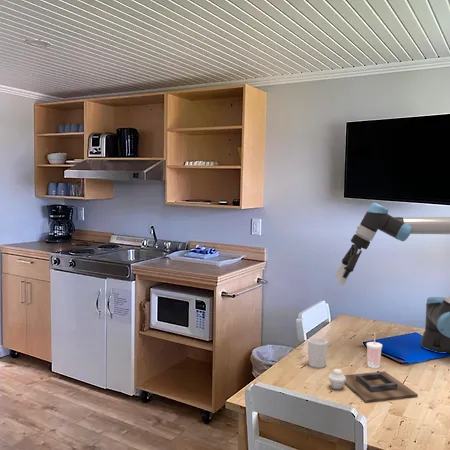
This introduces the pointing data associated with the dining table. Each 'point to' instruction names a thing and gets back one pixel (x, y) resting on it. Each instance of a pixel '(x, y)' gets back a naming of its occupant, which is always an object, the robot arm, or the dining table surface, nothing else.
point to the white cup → (317, 352)
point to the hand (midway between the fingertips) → (338, 280)
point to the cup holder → (377, 387)
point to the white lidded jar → (337, 379)
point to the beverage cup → (374, 353)
